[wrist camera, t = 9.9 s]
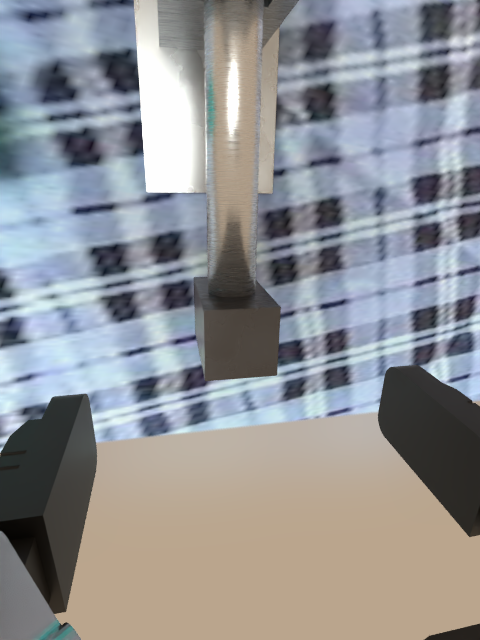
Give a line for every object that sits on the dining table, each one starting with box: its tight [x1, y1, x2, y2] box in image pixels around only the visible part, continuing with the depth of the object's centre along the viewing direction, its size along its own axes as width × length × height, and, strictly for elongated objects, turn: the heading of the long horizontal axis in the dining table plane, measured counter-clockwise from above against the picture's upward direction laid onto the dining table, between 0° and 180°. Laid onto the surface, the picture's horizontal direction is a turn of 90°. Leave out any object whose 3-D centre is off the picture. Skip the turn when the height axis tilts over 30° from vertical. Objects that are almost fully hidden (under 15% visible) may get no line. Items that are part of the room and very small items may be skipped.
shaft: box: [194, 0, 281, 381], centre depth 19 cm, size 26×4×7 cm, turn 179°
